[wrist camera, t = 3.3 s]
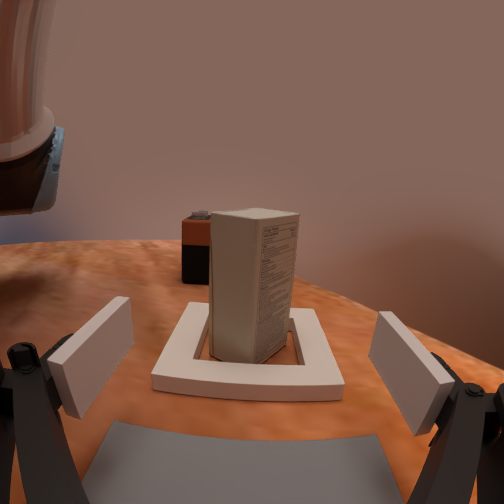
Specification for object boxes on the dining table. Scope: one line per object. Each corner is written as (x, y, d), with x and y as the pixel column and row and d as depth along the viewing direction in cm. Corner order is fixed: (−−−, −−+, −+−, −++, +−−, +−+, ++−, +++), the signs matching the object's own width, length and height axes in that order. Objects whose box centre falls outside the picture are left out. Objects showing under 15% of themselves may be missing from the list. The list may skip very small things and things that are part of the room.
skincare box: (249, 331, 29) (257, 207, 26) (288, 345, 26) (302, 212, 24) (206, 356, 24) (207, 210, 21) (248, 376, 21) (258, 216, 19)
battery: (181, 283, 41) (181, 213, 39) (189, 270, 48) (190, 208, 46) (211, 285, 41) (213, 214, 39) (216, 271, 48) (218, 209, 46)
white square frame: (153, 389, 19) (150, 373, 18) (189, 314, 32) (189, 301, 31) (340, 399, 19) (345, 384, 18) (311, 321, 32) (313, 308, 31)
